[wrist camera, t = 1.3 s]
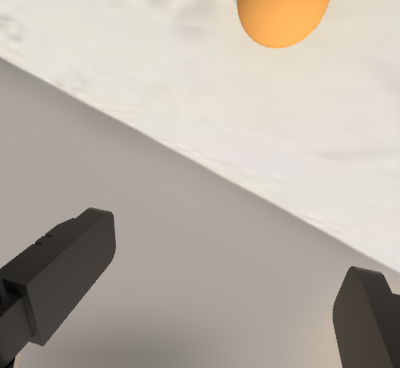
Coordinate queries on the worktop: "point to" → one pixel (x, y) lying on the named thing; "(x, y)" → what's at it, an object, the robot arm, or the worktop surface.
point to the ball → (280, 20)
